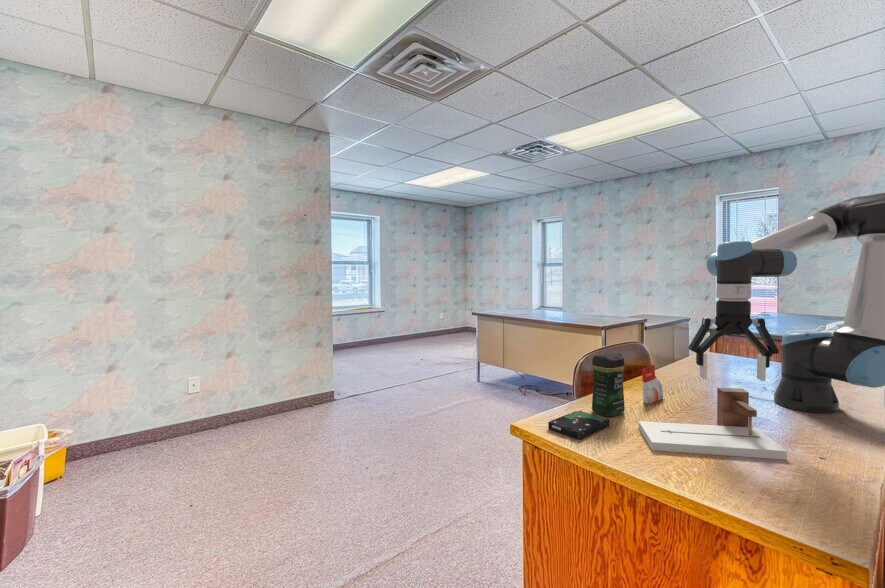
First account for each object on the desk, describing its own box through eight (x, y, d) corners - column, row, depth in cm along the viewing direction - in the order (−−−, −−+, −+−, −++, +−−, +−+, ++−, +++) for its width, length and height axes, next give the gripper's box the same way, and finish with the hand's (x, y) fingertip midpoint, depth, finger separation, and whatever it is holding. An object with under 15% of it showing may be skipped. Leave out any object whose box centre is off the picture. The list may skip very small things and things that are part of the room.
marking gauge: (740, 426, 110) (740, 387, 110) (766, 447, 97) (767, 403, 97) (715, 425, 112) (715, 386, 111) (738, 445, 99) (738, 402, 98)
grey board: (755, 435, 105) (755, 427, 104) (786, 459, 91) (787, 450, 91) (638, 428, 111) (638, 420, 111) (651, 450, 98) (651, 441, 98)
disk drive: (580, 443, 105) (610, 427, 114) (580, 432, 104) (610, 418, 114) (547, 431, 113) (578, 417, 122) (547, 421, 113) (578, 408, 122)
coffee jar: (610, 419, 119) (609, 357, 118) (587, 412, 125) (587, 353, 124) (629, 412, 124) (629, 353, 123) (607, 405, 130) (606, 349, 129)
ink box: (663, 398, 136) (663, 365, 135) (650, 404, 130) (650, 370, 130) (654, 396, 138) (654, 364, 138) (642, 402, 132) (641, 368, 132)
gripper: (685, 300, 106) (684, 379, 107) (797, 300, 100) (795, 384, 101) (676, 299, 113) (675, 373, 114) (780, 298, 107) (778, 377, 108)
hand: (731, 378), depth 108 cm, fingers open, 13 cm apart
